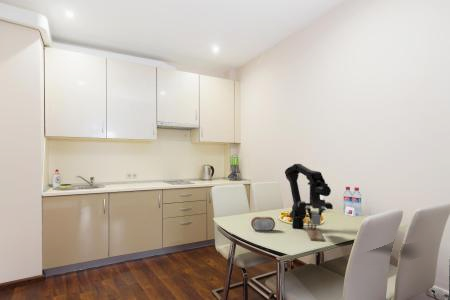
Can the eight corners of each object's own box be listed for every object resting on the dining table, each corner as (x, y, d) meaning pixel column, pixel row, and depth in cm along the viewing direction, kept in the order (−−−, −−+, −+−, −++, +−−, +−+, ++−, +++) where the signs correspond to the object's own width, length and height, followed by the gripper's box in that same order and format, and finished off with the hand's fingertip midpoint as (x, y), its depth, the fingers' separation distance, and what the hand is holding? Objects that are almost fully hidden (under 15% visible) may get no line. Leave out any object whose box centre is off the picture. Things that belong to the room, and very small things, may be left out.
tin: (274, 229, 161) (274, 216, 161) (275, 231, 158) (275, 217, 158) (250, 229, 161) (251, 216, 161) (251, 231, 158) (251, 217, 158)
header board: (310, 240, 142) (310, 229, 142) (305, 229, 161) (305, 220, 161) (323, 241, 141) (323, 230, 141) (317, 230, 159) (317, 220, 159)
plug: (312, 224, 143) (313, 215, 143) (309, 218, 155) (309, 210, 155) (320, 224, 142) (320, 215, 142) (316, 218, 154) (316, 210, 154)
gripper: (300, 195, 142) (299, 222, 142) (335, 196, 139) (335, 224, 139) (297, 191, 153) (297, 217, 153) (330, 192, 150) (330, 219, 150)
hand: (314, 219), depth 149 cm, fingers closed on plug, 4 cm apart
